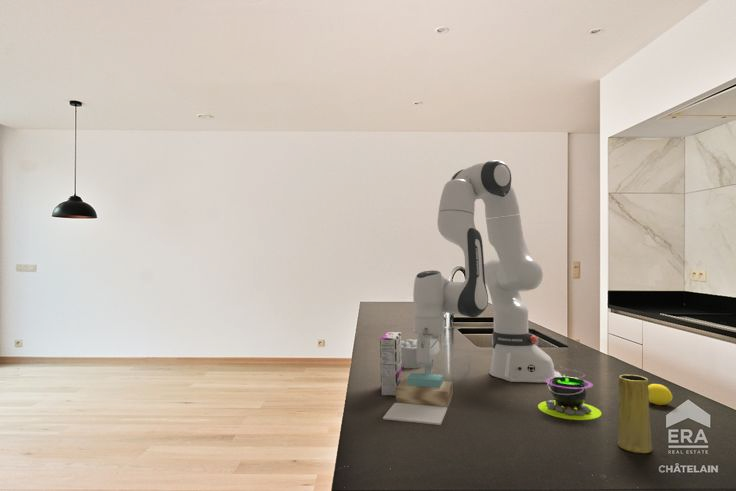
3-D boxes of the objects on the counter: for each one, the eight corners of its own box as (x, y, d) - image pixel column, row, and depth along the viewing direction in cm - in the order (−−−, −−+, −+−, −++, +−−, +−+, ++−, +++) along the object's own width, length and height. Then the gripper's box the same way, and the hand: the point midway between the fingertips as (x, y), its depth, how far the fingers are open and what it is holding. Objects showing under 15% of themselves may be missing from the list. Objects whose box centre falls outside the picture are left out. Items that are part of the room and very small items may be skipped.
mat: (447, 408, 119) (447, 407, 119) (440, 425, 108) (440, 423, 108) (394, 404, 123) (394, 402, 123) (383, 419, 112) (383, 417, 112)
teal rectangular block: (443, 382, 130) (443, 374, 130) (440, 387, 124) (440, 380, 124) (411, 379, 133) (411, 372, 133) (407, 385, 127) (407, 378, 127)
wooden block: (452, 396, 130) (452, 381, 130) (448, 407, 121) (448, 391, 121) (404, 392, 134) (404, 378, 134) (396, 402, 125) (396, 387, 125)
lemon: (669, 404, 124) (672, 384, 123) (673, 410, 119) (676, 390, 118) (639, 398, 126) (642, 378, 126) (642, 404, 121) (645, 383, 121)
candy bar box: (386, 385, 142) (385, 331, 142) (402, 385, 141) (401, 332, 141) (379, 395, 131) (379, 337, 131) (397, 396, 130) (396, 338, 130)
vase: (611, 442, 97) (610, 374, 98) (639, 441, 98) (637, 373, 98) (630, 454, 91) (629, 382, 92) (659, 453, 92) (658, 381, 92)
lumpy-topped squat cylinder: (428, 361, 174) (427, 338, 174) (423, 369, 162) (423, 344, 162) (400, 359, 177) (400, 337, 177) (394, 367, 164) (394, 343, 164)
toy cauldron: (525, 405, 122) (524, 363, 122) (567, 398, 128) (566, 358, 128) (570, 424, 108) (569, 377, 109) (615, 415, 114) (614, 370, 115)
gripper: (433, 332, 124) (433, 383, 124) (444, 322, 144) (444, 366, 144) (410, 331, 126) (410, 381, 126) (424, 321, 146) (424, 365, 145)
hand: (428, 373), depth 135 cm, fingers closed
